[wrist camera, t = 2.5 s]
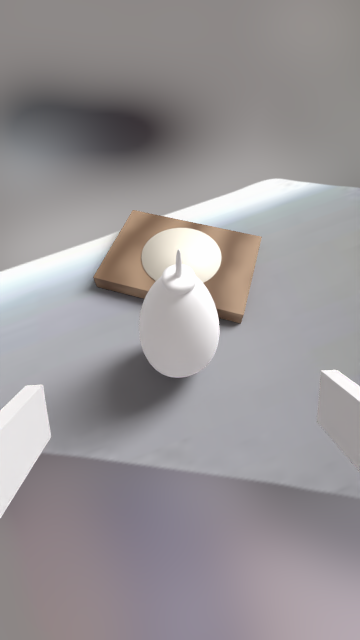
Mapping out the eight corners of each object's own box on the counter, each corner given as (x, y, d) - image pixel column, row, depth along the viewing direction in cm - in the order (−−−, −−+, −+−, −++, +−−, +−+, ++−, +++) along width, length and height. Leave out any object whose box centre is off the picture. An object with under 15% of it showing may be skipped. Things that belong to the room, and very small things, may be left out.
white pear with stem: (153, 399, 33) (130, 309, 17) (140, 338, 36) (111, 220, 21) (221, 382, 34) (256, 282, 18) (201, 324, 37) (216, 202, 22)
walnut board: (258, 247, 45) (261, 236, 43) (240, 323, 38) (243, 314, 36) (134, 220, 48) (132, 209, 46) (96, 286, 41) (92, 276, 39)
